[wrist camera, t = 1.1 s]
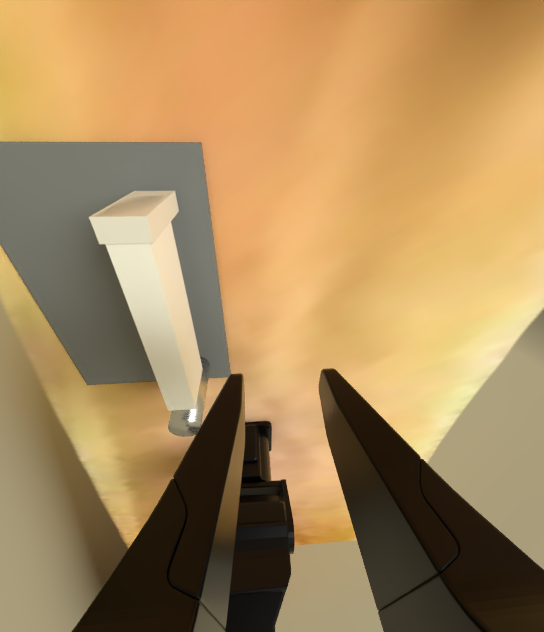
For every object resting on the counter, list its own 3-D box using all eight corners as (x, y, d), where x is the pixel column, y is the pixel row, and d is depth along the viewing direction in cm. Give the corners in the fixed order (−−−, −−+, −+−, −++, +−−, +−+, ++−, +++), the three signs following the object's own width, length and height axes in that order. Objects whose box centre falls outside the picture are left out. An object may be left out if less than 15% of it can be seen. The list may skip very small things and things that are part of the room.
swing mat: (230, 373, 27) (230, 377, 27) (89, 381, 26) (87, 385, 26) (201, 142, 15) (200, 142, 15) (-56, 141, 14) (-63, 141, 14)
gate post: (212, 369, 27) (202, 435, 21) (187, 370, 26) (171, 437, 21) (208, 352, 25) (197, 417, 19) (183, 353, 25) (164, 420, 19)
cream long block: (207, 356, 24) (197, 410, 20) (180, 358, 24) (164, 412, 19) (175, 190, 16) (146, 216, 11) (134, 190, 16) (88, 217, 11)
